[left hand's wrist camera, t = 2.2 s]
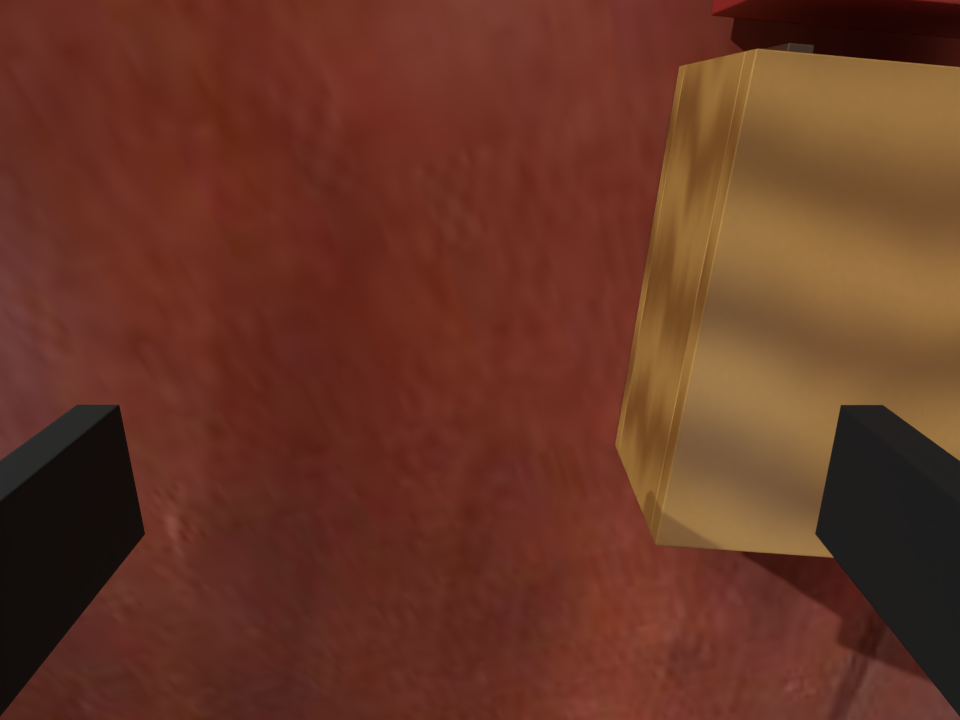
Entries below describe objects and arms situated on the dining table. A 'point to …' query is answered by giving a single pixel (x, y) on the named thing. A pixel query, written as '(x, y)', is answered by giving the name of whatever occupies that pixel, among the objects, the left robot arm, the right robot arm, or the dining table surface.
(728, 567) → the dining table surface
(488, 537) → the dining table surface
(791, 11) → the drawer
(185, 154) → the dining table surface
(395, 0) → the dining table surface
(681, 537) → the tan boxy grained block
